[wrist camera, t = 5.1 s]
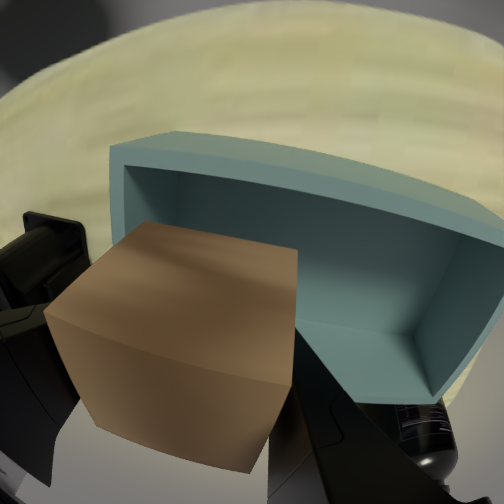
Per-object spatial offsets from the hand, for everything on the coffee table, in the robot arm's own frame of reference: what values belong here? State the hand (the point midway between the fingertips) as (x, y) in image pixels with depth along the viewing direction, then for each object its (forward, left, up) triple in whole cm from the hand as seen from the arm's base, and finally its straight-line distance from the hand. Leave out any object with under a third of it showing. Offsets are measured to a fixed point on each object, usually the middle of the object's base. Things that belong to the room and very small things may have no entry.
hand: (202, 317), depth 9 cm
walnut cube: (0, 0, -1) cm, 1 cm away
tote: (+4, 0, -7) cm, 8 cm away
